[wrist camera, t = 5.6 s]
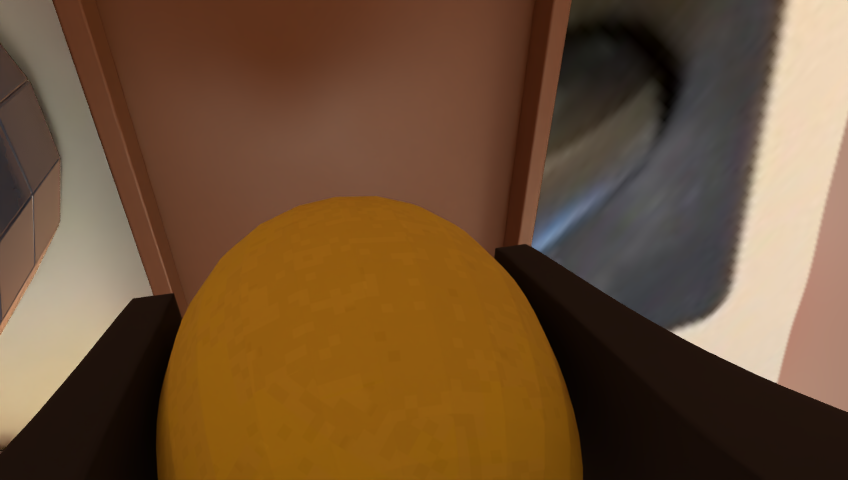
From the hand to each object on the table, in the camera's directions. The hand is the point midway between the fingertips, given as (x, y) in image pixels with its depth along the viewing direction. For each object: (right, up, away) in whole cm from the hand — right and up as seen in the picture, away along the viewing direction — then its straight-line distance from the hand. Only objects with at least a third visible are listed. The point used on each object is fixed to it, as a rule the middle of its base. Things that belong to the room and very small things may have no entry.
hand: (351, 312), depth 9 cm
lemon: (-1, +1, +2) cm, 2 cm away
